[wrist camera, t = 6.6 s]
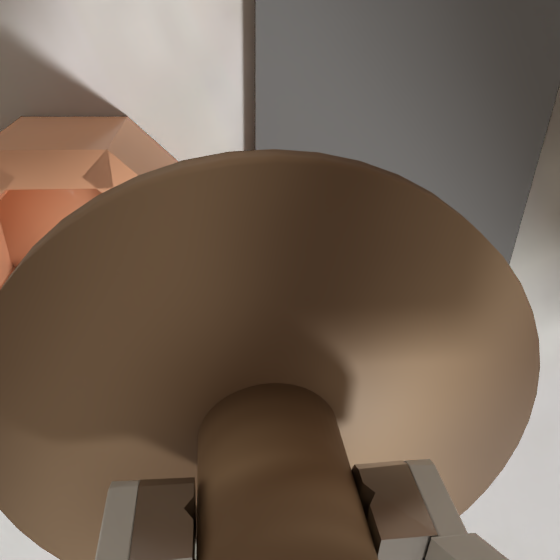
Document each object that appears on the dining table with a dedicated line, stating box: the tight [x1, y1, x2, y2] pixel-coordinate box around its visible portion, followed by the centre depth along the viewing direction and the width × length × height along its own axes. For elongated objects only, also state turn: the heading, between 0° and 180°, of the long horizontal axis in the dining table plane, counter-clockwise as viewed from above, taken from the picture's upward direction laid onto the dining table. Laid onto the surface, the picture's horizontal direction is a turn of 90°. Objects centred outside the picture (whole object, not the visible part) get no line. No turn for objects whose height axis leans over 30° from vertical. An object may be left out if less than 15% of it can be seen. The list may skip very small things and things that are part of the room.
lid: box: [0, 149, 540, 560], centre depth 10 cm, size 12×12×5 cm
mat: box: [255, 0, 560, 264], centre depth 25 cm, size 14×14×1 cm
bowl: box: [0, 116, 178, 289], centre depth 24 cm, size 11×11×5 cm
